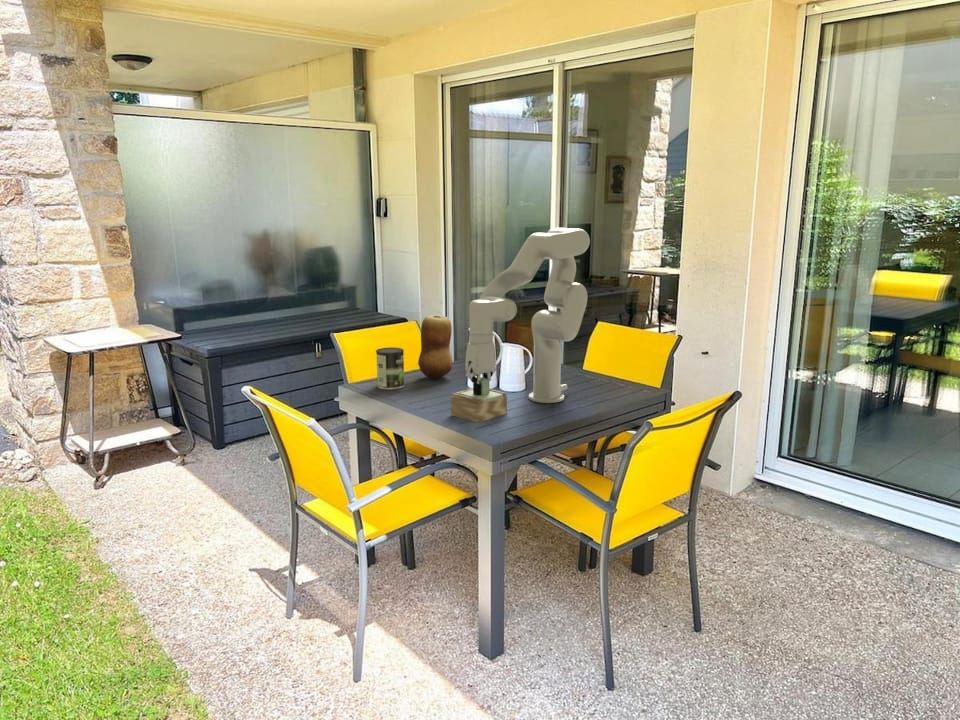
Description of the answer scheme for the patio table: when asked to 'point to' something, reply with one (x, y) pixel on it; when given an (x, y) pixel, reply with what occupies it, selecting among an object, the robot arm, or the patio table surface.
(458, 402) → the box
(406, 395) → the patio table surface
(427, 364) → the butternut squash
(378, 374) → the coffee can
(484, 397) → the cover plate
